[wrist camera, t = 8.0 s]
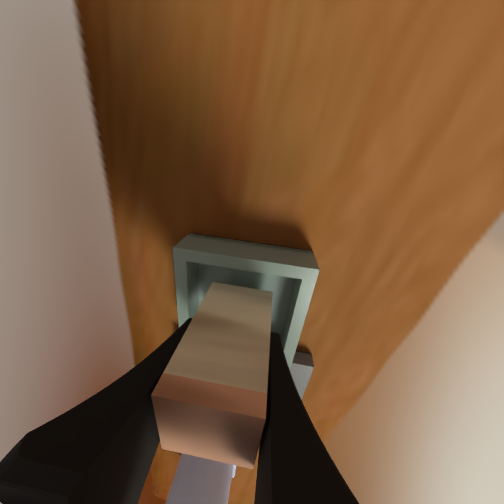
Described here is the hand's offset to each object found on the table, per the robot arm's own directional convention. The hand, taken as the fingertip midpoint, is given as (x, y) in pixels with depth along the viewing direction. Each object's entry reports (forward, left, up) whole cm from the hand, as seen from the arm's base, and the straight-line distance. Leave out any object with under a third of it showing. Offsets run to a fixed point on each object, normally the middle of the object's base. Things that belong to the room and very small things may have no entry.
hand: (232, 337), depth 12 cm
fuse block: (0, 0, -2) cm, 3 cm away
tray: (0, 0, -4) cm, 4 cm away
